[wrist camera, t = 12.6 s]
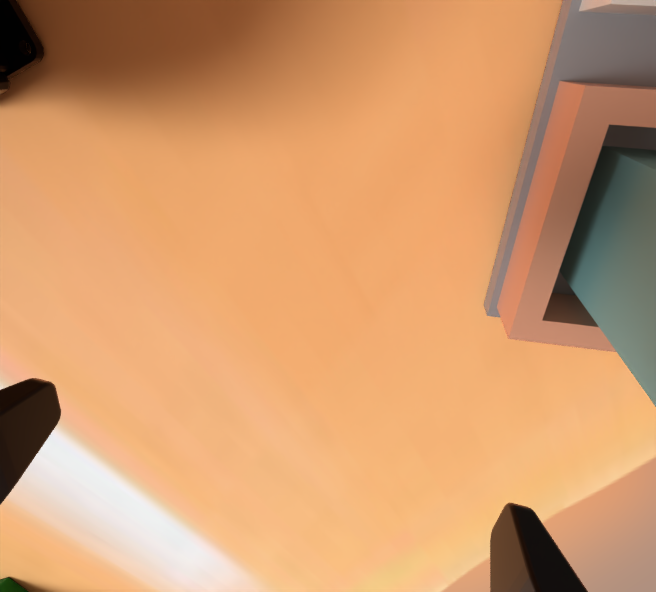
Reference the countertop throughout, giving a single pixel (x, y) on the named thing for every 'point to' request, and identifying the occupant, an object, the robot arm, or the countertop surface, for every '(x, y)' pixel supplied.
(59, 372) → the countertop surface
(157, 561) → the countertop surface
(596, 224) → the plug
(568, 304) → the organiser
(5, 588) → the milk carton
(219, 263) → the countertop surface
